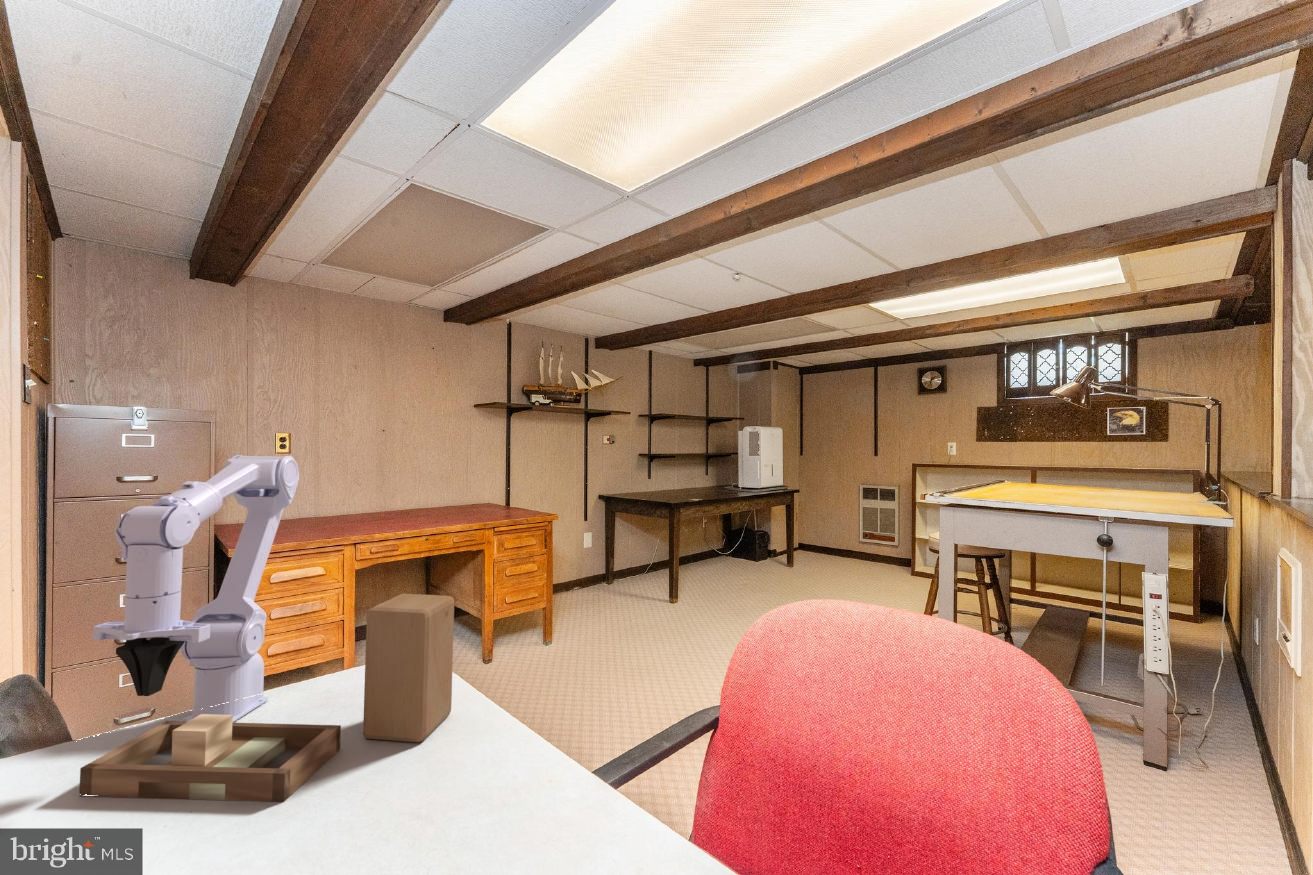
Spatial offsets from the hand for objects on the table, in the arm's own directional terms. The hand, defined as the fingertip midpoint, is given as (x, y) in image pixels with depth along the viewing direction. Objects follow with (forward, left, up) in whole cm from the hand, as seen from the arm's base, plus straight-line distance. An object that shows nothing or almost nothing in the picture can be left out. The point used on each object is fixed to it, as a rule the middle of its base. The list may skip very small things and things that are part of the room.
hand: (149, 692), depth 75 cm
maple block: (0, +7, -8) cm, 11 cm away
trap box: (0, +10, -10) cm, 14 cm away
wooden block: (-13, +30, -11) cm, 34 cm away
